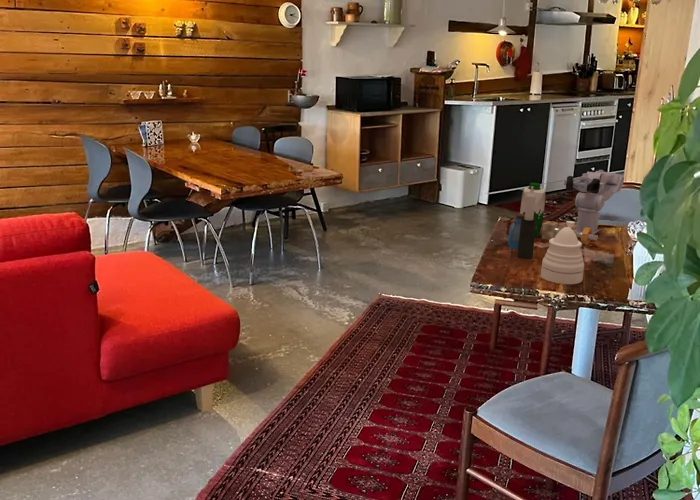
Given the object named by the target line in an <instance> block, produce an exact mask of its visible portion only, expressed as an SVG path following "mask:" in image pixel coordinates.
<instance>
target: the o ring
mask: <svg viewBox="0 0 700 500" xmlns="http://www.w3.org/2000/svg"><path fill="white" fill-rule="evenodd" d="M588 234H592V229H591V228H587V227H585V228H584V229H583V232H582V236H581V238H580V242H581V243H582V245H587V246H588V245H589V244H590V242H591V240H590V239H588Z"/></svg>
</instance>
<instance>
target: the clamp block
mask: <svg viewBox="0 0 700 500" xmlns="http://www.w3.org/2000/svg"><path fill="white" fill-rule="evenodd" d="M558 226H559V222H555V221H549V220H547V221H545V222H542V233H541V239H542V240H548V241H549V240H550V239H552V238H555V236H556V235H557V234H558V233H554V230H555V228H559V227H558Z"/></svg>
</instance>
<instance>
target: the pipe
mask: <svg viewBox="0 0 700 500" xmlns="http://www.w3.org/2000/svg"><path fill="white" fill-rule="evenodd" d="M561 229H562V228H559V227H558V228H555V230H554V233H557V234H558V232H559V231H560V230H561ZM574 232H575V234H576V236H577V238H580V239H581V236H582V232H576V231H574ZM588 239H590V241H591V240H592V241H597V242H598V239H599V234H594V235H593V234H588Z"/></svg>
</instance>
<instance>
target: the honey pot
mask: <svg viewBox="0 0 700 500" xmlns="http://www.w3.org/2000/svg"><path fill="white" fill-rule="evenodd" d="M575 223H576V222H575V221H571V220H567V221H566V223H565V224H566V226H565V227H563V228H560V229H561V230H560V231H559V232H558V233H557V235H556V236H555V238H552V239H550V240H548V243H549V247H548V248H547V249H546V253H545V254H544V257H542V264H541V271H540V277H541V278H542V280H545V281H547V282H550V281H551V283H554V282H555V283H554V284H559V283H562V284H561V285H576V284H580V283H582V282H583V278H584V269H585V262H584V257H583V252H582V251H581V248H582V246H583V244H582V243H581V240H579V239H578V237H577V236H576V234H575V232H574V231H573V230H574V229H572V228H573V227H574V226H575Z"/></svg>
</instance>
